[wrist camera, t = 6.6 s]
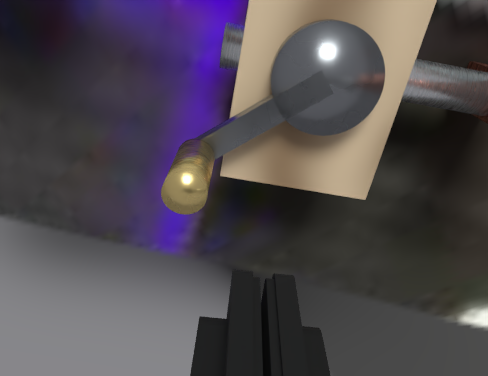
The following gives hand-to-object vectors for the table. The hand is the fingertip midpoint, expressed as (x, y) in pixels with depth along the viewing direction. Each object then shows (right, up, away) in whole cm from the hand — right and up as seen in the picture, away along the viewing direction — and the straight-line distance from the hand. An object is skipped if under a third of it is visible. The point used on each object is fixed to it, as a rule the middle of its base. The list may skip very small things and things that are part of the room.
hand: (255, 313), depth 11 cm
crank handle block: (+1, +7, +8) cm, 11 cm away
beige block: (+3, +12, +15) cm, 20 cm away
